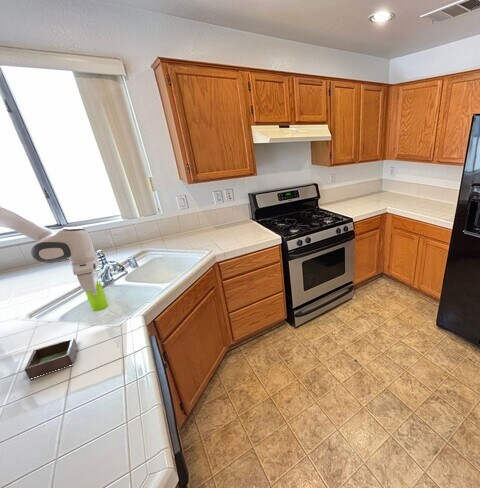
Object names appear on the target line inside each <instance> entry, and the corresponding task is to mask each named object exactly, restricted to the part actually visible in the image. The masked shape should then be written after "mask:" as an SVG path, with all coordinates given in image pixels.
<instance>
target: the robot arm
mask: <svg viewBox="0 0 480 488" xmlns="http://www.w3.org/2000/svg"><path fill="white" fill-rule="evenodd" d="M0 228H7V229H9V230H13V231H15V232H17V233H19V234H21V235H23V236H25V237H27V238H29V239H31V240H33V241H35V242H36V243H35V244H34V245H33V246H32V247H31V250H30V254H31V256H32V258H33V259H34V260H36V261H37V262H38V263H42V264H54V263H59V262H61V261H64V260H67V259H69V262H70V264H71V267H72V268H71V269H72V273H73V276H76V278H77V280H78V283H79V284H80V287H81V288H82V290H83V292H85V291H90V292H91V293H92V295H97V293H98V292H97V290H96V284H97V282H99V275H100V270H99V271H95V270H96V269H99V266H100V260H99V257H98V254H97V252H96V251H95V248H94V242H93V240H92V238H91V235H90V233H89V232H88V230H87V229H86V228H85V227H82V226H76V225H75V226H64V227H62V228H61V229H60V230H54V229H50V228H48V227H46V226H44V225H42V224H41V223H39V222H37V221H35V220H33V219H31V218H29V217H27V216H25V215H24V214H22V213H20V212H17V211H16V210H14V209H12V208H11V207H9V206H7V205H6V204H3V203H2V202H0Z"/></svg>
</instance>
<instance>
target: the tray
mask: <svg viewBox="0 0 480 488" xmlns="http://www.w3.org/2000/svg"><path fill="white" fill-rule="evenodd" d="M77 347H78V348H79V345H78V344H77V342H76V339H75V338H74V337H72V338H69V339H66V340H65V339H64V340H62V341H59V342H55V343H52V344H48V345H45V346H42V347H39V348H36V349H33V351H32V353H31V355H30V357H29V359H28V362H27V363H26V365H25V367H24V371H25V374H26V375H27V377H28V379H29V380H30V379H31V378H34V377H37V376H40V375H43V374H46V373H49V372H52V371H55V370H58V369H61V368H64V367H67V366H69V365H72V364H73V363H74V364H75V362H74V359H75V360H76V358H75V355H76V356H77V354H76V351H77V352H78V350H77Z"/></svg>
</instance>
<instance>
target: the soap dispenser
mask: <svg viewBox="0 0 480 488" xmlns="http://www.w3.org/2000/svg"><path fill="white" fill-rule="evenodd" d="M95 271H99V272H100V269H99V268H98V269H96V270H95ZM96 290H97V292H98V293H97V295H92V293H91V292H90V291H84V293H85V295H86V297H87V300H88V303H89V305H90V308H91V310H92V312H101V311H103V310H105V309H107V308H108V307H109V302H108V300H107V297H106V294H105V291H104V288H103V286H102V282H99V281H98V282H97V284H96Z"/></svg>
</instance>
